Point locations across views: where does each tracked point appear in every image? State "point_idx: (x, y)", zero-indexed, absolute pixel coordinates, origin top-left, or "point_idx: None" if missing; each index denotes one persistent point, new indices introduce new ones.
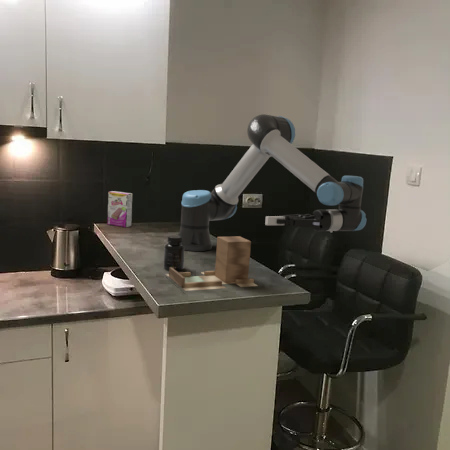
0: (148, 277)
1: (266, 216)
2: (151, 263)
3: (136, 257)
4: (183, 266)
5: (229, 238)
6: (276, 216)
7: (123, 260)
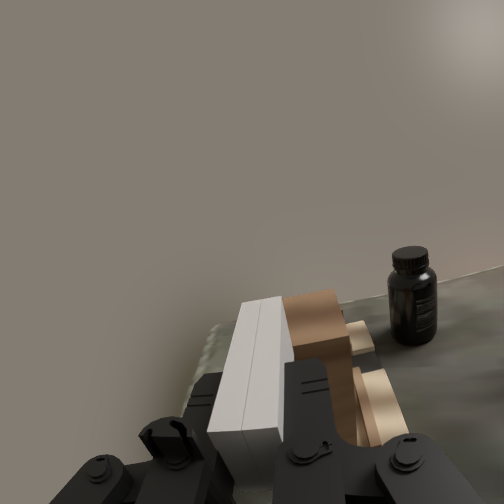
0: (361, 308)
1: (276, 298)
2: (465, 301)
3: (498, 280)
4: (407, 333)
5: (301, 309)
6: (272, 358)
7: (468, 274)
